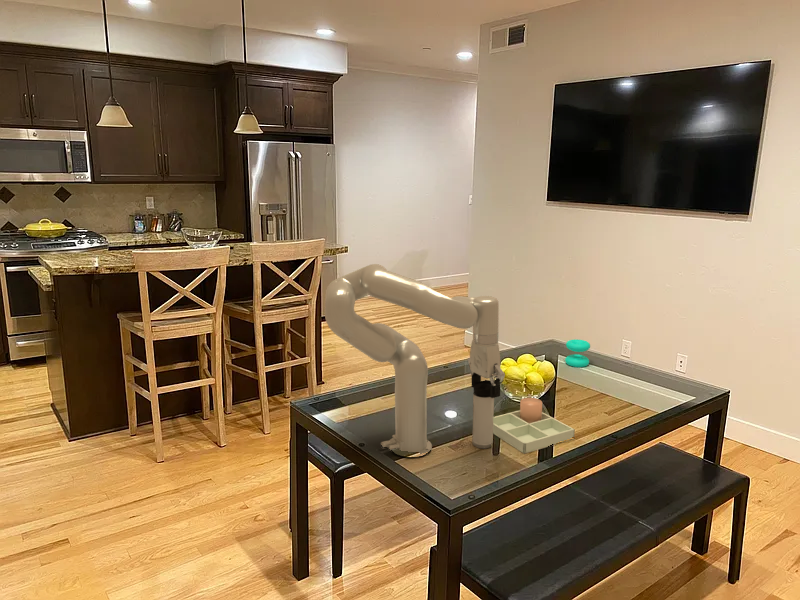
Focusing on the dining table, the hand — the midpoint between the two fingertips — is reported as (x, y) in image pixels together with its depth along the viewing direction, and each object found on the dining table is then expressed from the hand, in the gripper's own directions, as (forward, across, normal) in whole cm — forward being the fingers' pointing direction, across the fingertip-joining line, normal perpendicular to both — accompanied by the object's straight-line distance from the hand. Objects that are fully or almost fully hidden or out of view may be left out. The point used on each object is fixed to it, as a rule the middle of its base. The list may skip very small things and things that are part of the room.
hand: (485, 391), depth 180 cm
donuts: (+19, -41, +78) cm, 90 cm away
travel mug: (+17, 0, -1) cm, 17 cm away
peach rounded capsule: (+17, -3, +20) cm, 26 cm away
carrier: (+18, +2, +15) cm, 23 cm away
